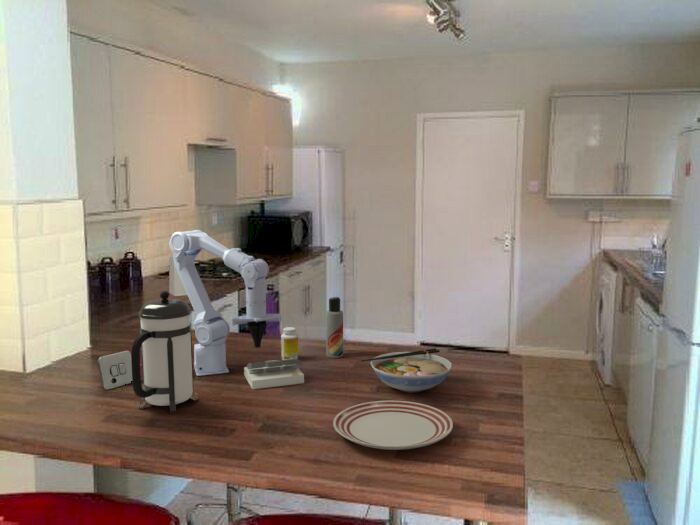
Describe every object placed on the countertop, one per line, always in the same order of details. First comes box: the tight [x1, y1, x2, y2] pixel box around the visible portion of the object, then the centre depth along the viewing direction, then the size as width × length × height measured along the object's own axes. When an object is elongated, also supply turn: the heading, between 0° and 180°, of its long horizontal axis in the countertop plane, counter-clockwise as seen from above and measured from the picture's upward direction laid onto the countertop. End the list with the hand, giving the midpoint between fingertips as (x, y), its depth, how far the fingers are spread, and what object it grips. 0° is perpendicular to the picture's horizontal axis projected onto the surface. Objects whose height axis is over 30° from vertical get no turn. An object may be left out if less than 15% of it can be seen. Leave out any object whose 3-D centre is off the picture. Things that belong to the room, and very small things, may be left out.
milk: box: [168, 254, 188, 297], centre depth 305 cm, size 12×12×26 cm
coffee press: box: [131, 290, 199, 414], centre depth 147 cm, size 17×16×30 cm
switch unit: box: [243, 364, 305, 390], centre depth 170 cm, size 15×13×4 cm
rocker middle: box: [264, 359, 283, 367], centre depth 169 cm, size 4×7×2 cm, turn 20°
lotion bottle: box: [325, 296, 344, 359], centre depth 192 cm, size 6×6×20 cm
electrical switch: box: [96, 350, 132, 390], centre depth 165 cm, size 9×5×9 cm, turn 141°
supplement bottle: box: [280, 326, 299, 360], centre depth 189 cm, size 6×6×10 cm
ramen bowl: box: [360, 347, 453, 394], centre depth 162 cm, size 25×23×8 cm
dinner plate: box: [332, 400, 454, 451], centre depth 133 cm, size 27×27×3 cm
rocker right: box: [279, 358, 300, 365], centre depth 171 cm, size 4×7×2 cm, turn 20°
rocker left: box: [246, 361, 266, 369], centre depth 168 cm, size 4×7×2 cm, turn 20°
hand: (257, 346), depth 170 cm, fingers closed
